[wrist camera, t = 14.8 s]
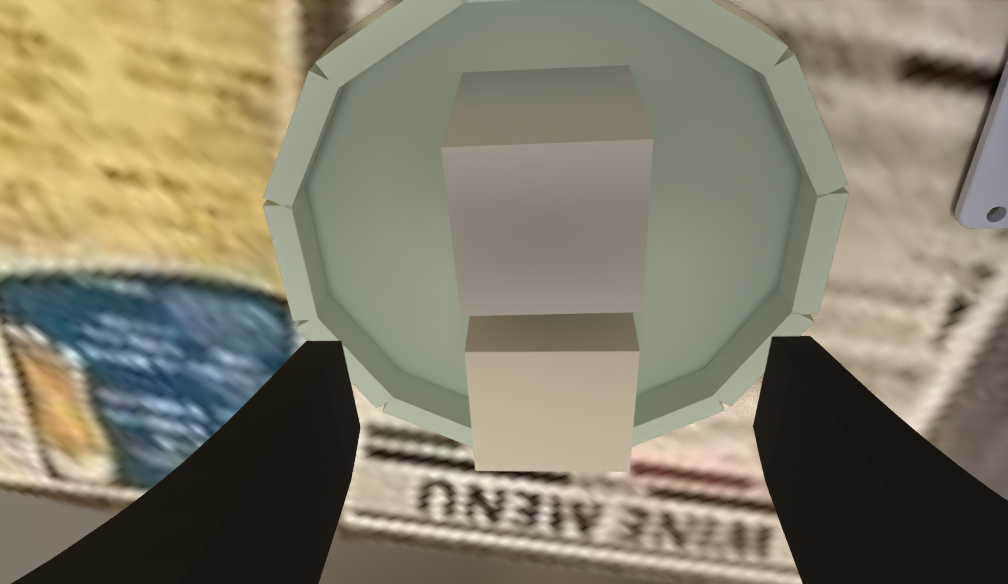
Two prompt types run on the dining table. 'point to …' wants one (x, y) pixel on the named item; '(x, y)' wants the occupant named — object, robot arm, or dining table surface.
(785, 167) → the serving bowl
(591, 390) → the beige stone block
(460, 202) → the grey stone block
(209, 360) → the dining table surface
